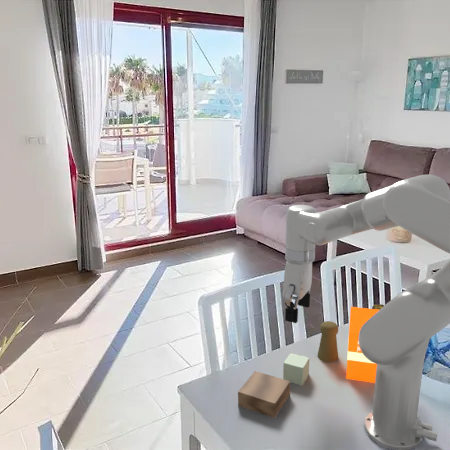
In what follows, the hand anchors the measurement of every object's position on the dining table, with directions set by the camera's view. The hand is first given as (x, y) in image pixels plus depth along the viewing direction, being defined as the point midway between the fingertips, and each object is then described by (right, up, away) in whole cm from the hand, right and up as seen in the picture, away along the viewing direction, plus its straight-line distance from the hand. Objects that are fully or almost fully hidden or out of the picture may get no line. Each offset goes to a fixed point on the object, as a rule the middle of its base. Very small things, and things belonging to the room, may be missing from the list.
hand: (297, 313), depth 123 cm
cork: (+11, -16, +14) cm, 24 cm away
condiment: (+29, -13, +23) cm, 39 cm away
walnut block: (-9, -22, -4) cm, 24 cm away
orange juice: (+19, -18, +6) cm, 27 cm away
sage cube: (0, -19, +5) cm, 19 cm away
